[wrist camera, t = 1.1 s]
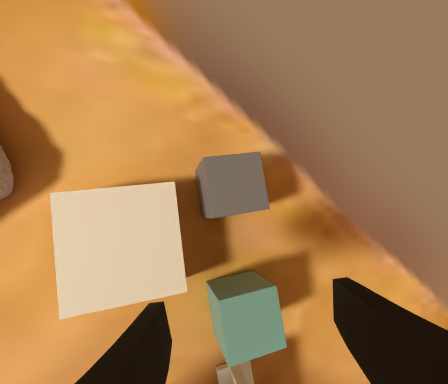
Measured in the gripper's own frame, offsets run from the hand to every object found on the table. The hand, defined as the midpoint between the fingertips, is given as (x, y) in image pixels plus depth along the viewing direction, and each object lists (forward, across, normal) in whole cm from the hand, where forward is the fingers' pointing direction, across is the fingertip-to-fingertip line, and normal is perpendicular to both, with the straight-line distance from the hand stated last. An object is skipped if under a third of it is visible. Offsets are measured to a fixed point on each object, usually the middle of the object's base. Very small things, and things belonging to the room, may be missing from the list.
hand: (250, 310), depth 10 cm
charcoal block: (+13, +1, -2) cm, 13 cm away
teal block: (+10, +1, +7) cm, 12 cm away
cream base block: (+10, +9, 0) cm, 13 cm away
